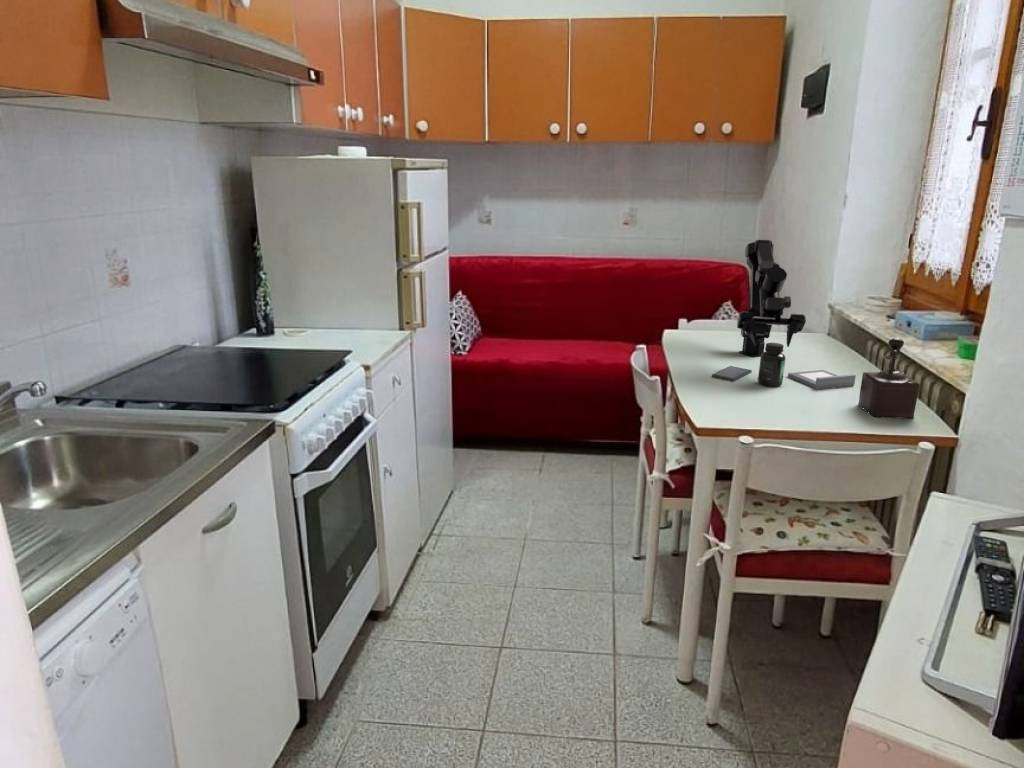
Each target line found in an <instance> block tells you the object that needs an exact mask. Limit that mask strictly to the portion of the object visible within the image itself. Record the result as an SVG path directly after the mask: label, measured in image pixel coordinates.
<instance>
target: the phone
mask: <svg viewBox="0 0 1024 768" xmlns="http://www.w3.org/2000/svg"><path fill="white" fill-rule="evenodd" d="M752 371H753V370H752V369H747V368H743V367H738V366H733V365H729V366H727V367H725V368H722V369H721V370H718V371H717V372H714V373H712V374H711V377H712V378H714V377H715V378H714V379H719V378H721V379H720V380H725V381H728V380H729V382H735V381H738V380H740V379H741V378H744V377H745V376H748V375H749V374H752Z"/></svg>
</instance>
